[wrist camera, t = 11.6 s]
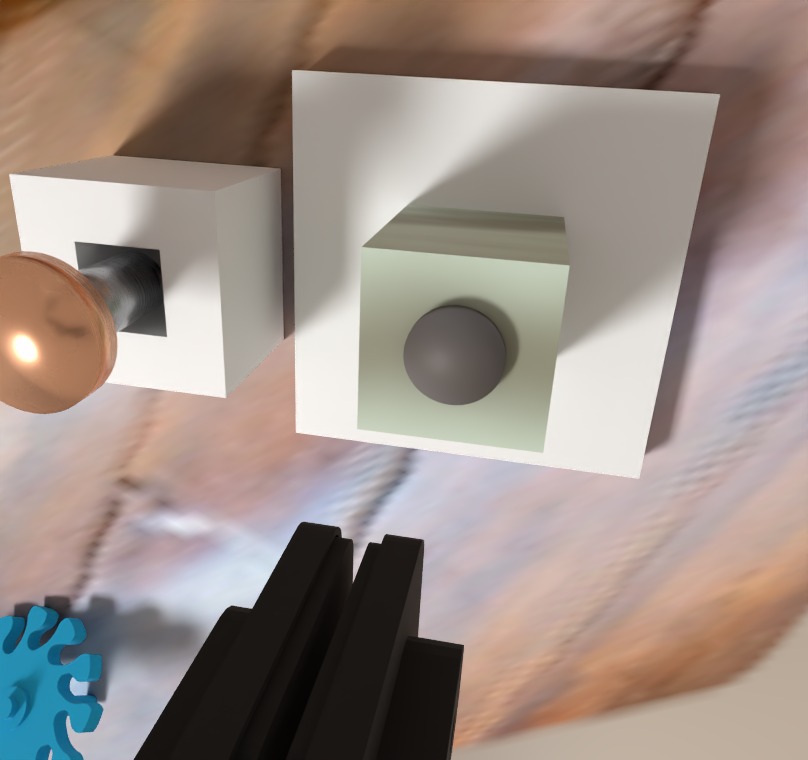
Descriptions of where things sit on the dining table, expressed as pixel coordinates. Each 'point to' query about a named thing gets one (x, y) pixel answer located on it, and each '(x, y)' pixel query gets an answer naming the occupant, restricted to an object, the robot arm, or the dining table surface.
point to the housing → (461, 325)
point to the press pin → (67, 324)
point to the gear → (43, 688)
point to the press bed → (371, 210)
